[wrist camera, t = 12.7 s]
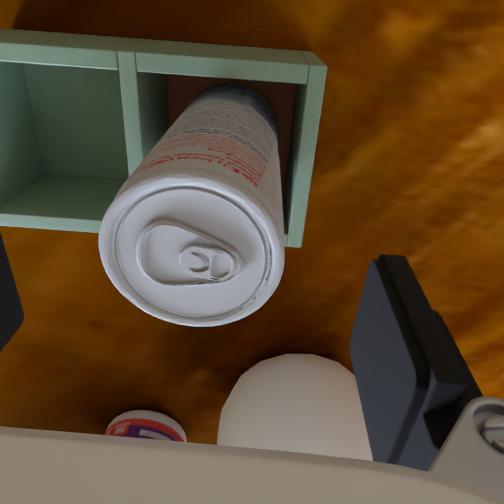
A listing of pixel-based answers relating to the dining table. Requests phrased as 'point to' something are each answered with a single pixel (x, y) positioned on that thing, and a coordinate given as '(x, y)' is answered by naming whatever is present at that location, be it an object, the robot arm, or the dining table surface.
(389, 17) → the dining table surface
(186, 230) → the beverage can
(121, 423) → the pill bottle
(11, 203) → the box
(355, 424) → the white vase
